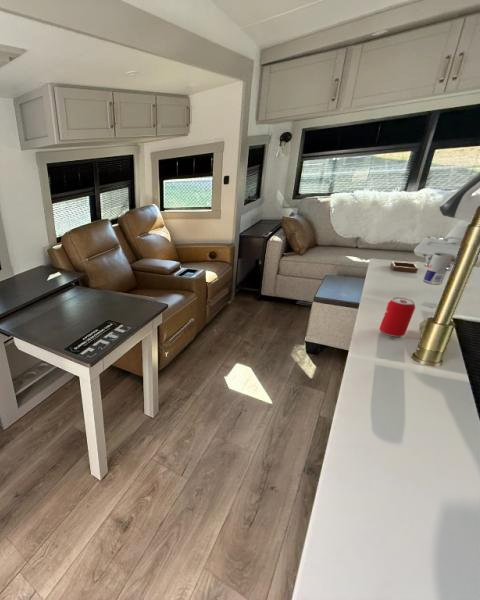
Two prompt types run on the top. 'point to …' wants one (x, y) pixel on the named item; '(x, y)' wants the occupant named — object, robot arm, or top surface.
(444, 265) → the energy drink
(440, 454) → the top surface
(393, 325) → the beverage can
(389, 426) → the top surface
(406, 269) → the serving tray
